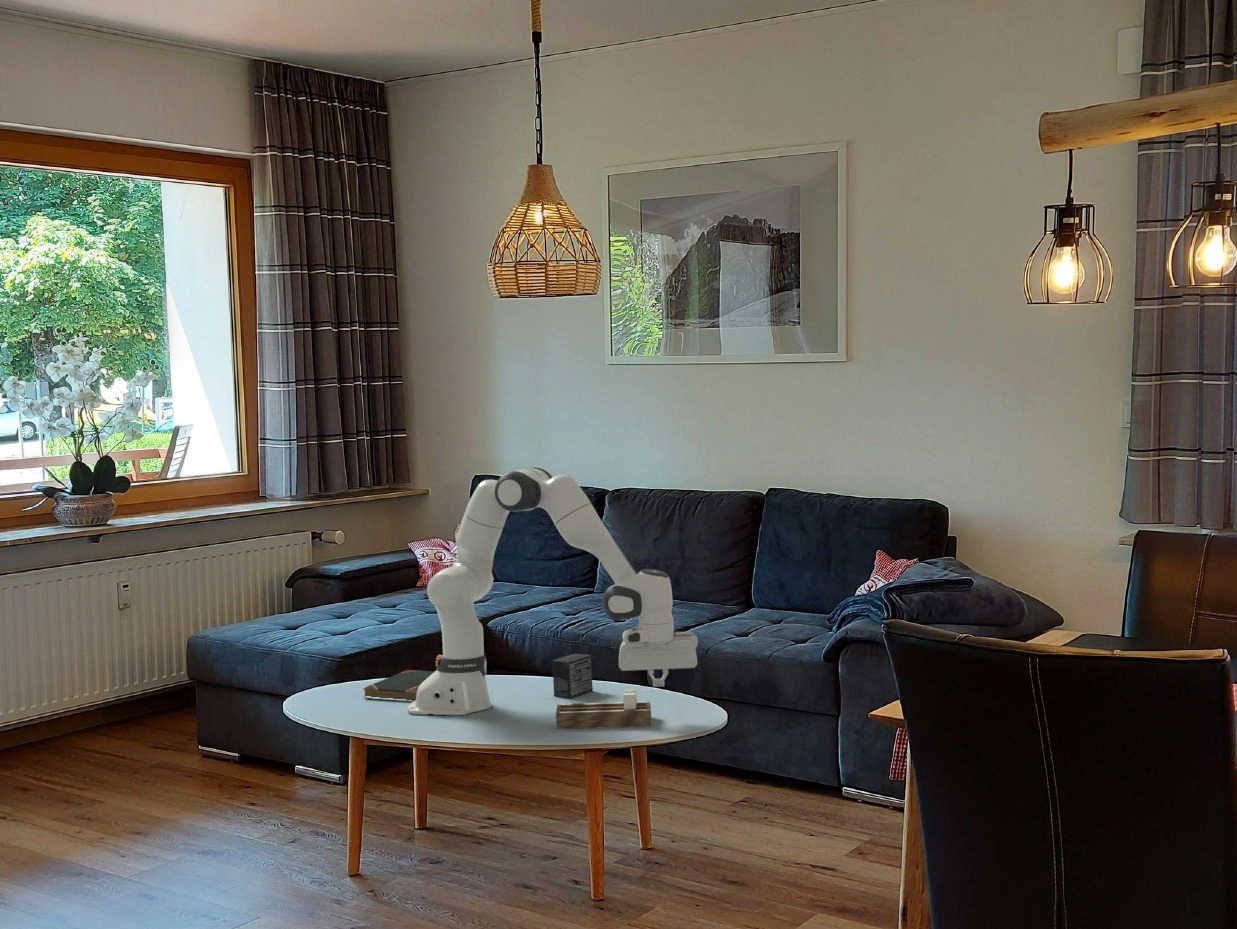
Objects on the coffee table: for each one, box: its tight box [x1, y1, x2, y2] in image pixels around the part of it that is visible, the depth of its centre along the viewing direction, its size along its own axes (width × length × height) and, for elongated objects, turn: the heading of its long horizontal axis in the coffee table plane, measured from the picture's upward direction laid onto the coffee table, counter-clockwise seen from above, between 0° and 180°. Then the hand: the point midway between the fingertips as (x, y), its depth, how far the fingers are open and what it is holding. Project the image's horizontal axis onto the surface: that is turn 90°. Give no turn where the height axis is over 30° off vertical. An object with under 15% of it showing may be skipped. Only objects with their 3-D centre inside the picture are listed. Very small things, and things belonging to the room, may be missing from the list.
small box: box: [552, 653, 594, 700], centre depth 356 cm, size 11×6×10 cm, turn 144°
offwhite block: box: [623, 692, 637, 710], centre depth 321 cm, size 3×2×6 cm
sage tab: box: [624, 688, 638, 706], centre depth 325 cm, size 3×2×6 cm
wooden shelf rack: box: [555, 701, 652, 730], centre depth 324 cm, size 24×9×4 cm, turn 90°
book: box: [362, 669, 435, 701], centre depth 367 cm, size 17×4×25 cm
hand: (658, 686), depth 325 cm, fingers closed
